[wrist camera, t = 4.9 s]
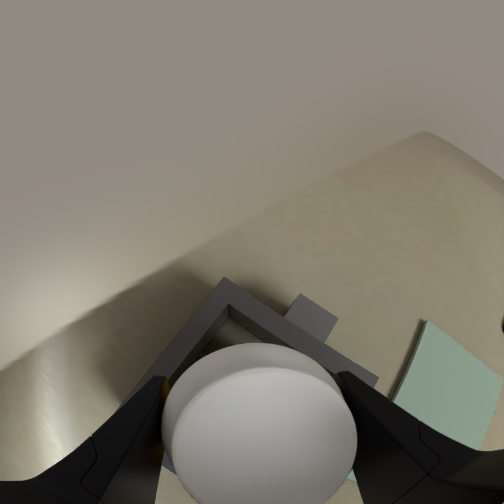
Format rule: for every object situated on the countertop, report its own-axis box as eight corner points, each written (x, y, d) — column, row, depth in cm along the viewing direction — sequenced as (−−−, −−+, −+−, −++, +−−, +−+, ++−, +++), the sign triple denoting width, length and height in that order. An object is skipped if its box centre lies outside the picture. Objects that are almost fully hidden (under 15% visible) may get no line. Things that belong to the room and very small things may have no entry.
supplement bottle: (183, 434, 12) (110, 505, 3) (210, 347, 15) (176, 291, 6) (278, 459, 12) (345, 550, 3) (304, 372, 14) (409, 352, 5)
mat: (445, 504, 9) (448, 504, 8) (343, 476, 11) (346, 478, 11) (500, 380, 14) (503, 379, 13) (424, 321, 16) (427, 320, 16)
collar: (265, 502, 10) (272, 524, 8) (129, 414, 12) (108, 420, 10) (366, 357, 15) (391, 351, 12) (240, 275, 17) (242, 253, 14)
